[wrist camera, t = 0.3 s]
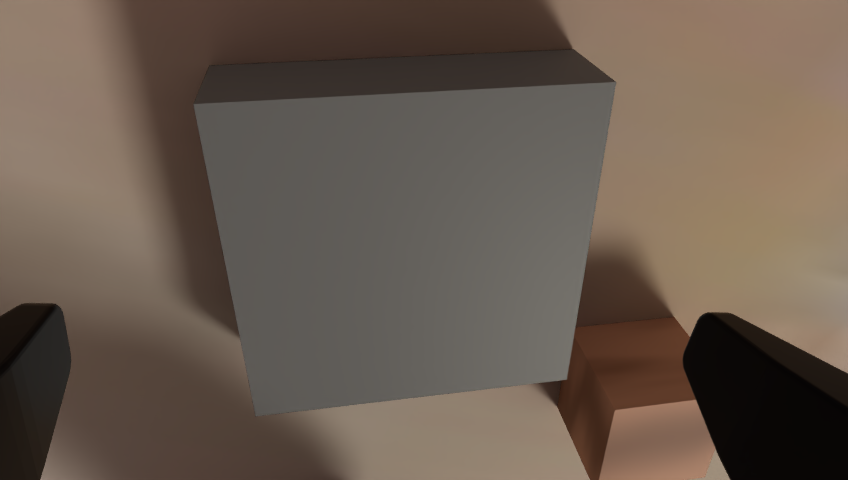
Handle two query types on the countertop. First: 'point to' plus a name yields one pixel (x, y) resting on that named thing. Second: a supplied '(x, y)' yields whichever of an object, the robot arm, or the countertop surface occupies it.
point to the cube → (634, 403)
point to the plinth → (404, 219)
